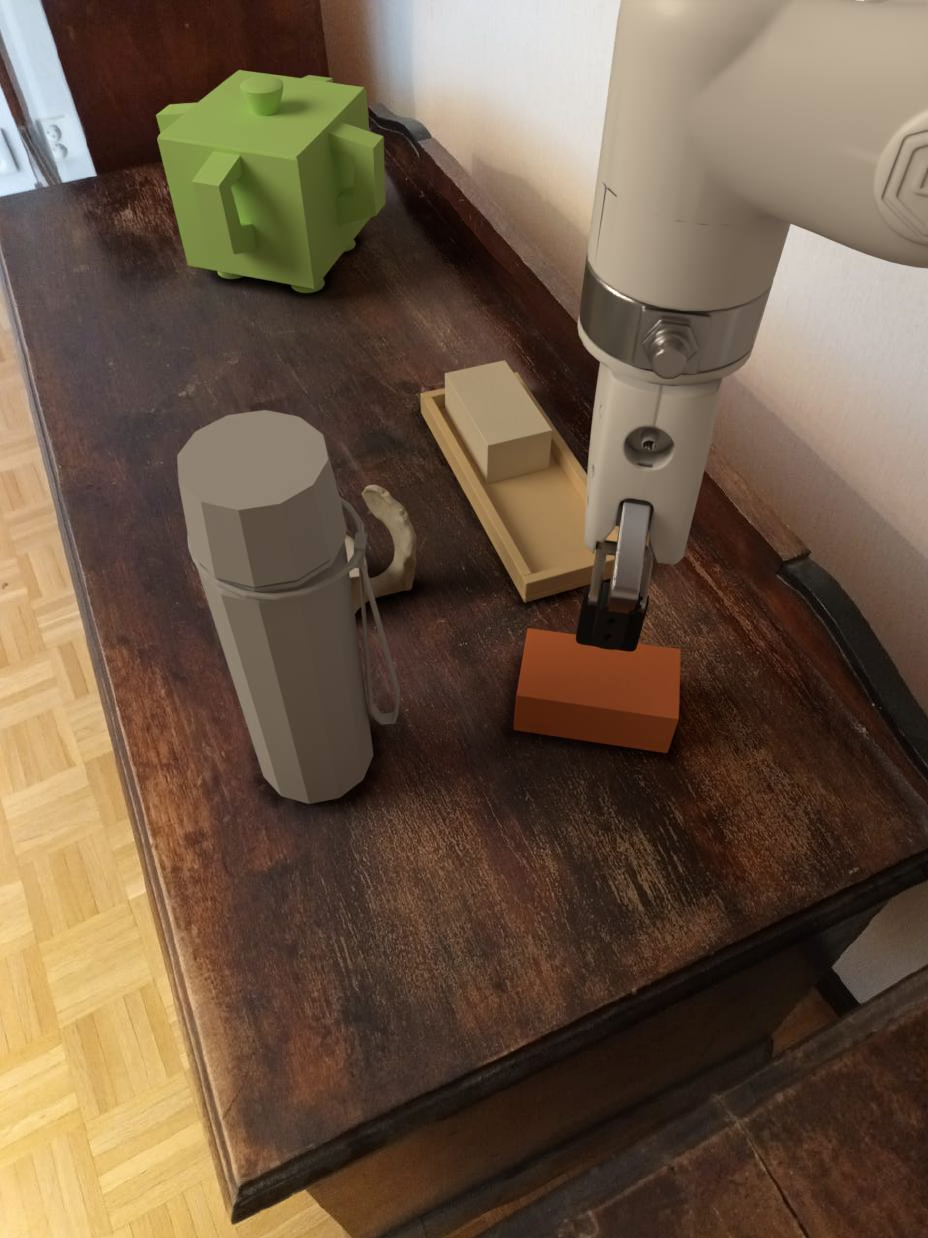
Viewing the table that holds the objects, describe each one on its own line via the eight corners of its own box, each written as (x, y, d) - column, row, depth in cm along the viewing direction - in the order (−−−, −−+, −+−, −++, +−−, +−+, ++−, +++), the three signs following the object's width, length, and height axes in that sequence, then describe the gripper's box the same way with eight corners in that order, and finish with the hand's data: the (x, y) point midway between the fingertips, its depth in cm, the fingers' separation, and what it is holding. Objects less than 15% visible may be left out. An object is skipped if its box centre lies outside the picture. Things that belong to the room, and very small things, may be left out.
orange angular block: (670, 685, 63) (681, 648, 59) (667, 753, 59) (679, 719, 56) (524, 664, 64) (527, 627, 61) (513, 730, 60) (516, 695, 57)
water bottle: (250, 813, 56) (142, 517, 37) (271, 706, 61) (186, 397, 42) (400, 818, 56) (371, 523, 37) (409, 710, 61) (387, 401, 42)
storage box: (340, 340, 88) (319, 156, 75) (132, 299, 93) (78, 119, 79) (426, 218, 103) (422, 47, 90) (244, 188, 108) (215, 21, 95)
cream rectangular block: (548, 468, 76) (552, 429, 73) (486, 484, 74) (487, 445, 71) (503, 398, 82) (505, 359, 79) (445, 411, 80) (444, 372, 77)
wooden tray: (636, 571, 69) (640, 552, 68) (524, 603, 67) (526, 583, 66) (516, 391, 83) (517, 371, 82) (420, 412, 81) (420, 393, 80)
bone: (268, 603, 65) (295, 467, 61) (308, 580, 71) (335, 455, 67) (379, 645, 63) (413, 508, 60) (410, 618, 69) (443, 492, 66)
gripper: (769, 446, 33) (674, 714, 46) (757, 212, 44) (683, 483, 57) (559, 419, 33) (525, 690, 47) (598, 195, 44) (562, 467, 58)
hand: (612, 576), depth 52 cm, fingers open, 9 cm apart
